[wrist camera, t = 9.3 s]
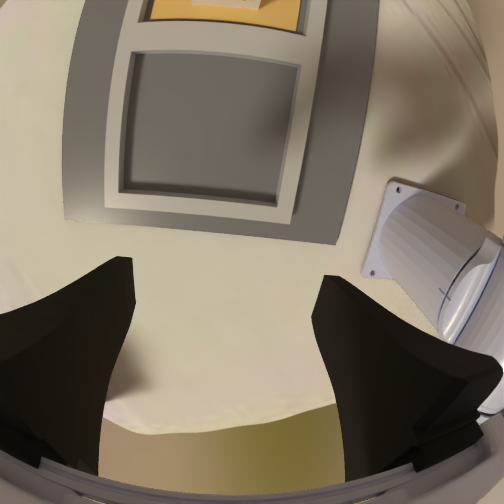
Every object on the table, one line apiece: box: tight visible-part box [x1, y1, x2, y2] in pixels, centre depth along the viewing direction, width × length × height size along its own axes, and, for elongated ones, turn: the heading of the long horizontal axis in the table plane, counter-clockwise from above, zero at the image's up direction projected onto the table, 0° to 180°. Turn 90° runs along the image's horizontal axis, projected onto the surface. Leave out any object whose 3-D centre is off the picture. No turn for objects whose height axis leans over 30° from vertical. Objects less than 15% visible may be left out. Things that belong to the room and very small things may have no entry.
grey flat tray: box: [62, 0, 379, 245], centre depth 13 cm, size 20×25×2 cm
